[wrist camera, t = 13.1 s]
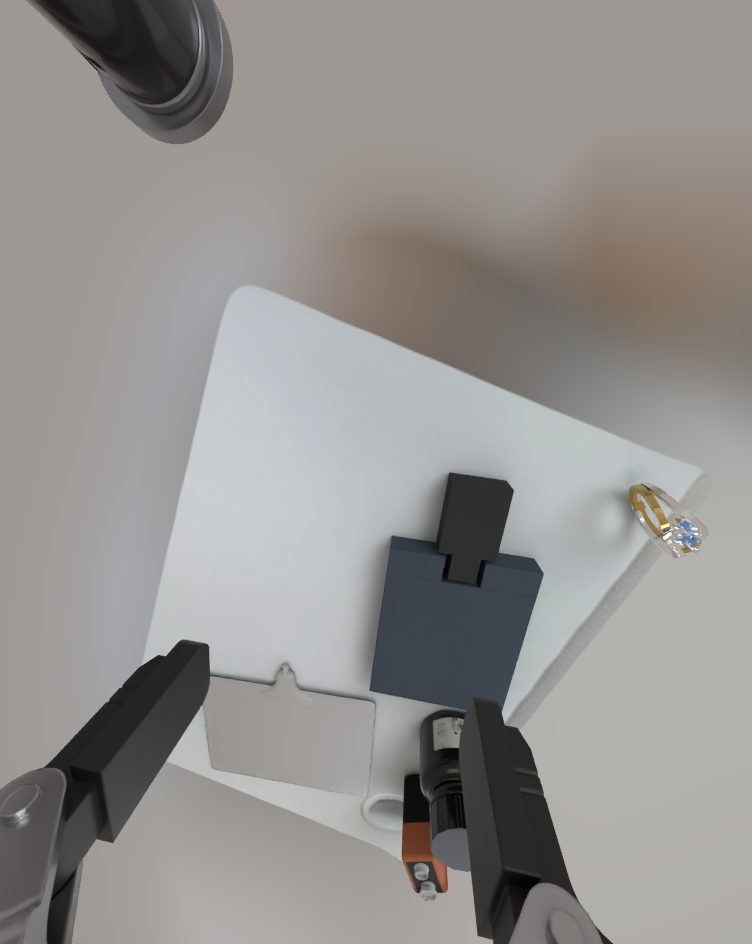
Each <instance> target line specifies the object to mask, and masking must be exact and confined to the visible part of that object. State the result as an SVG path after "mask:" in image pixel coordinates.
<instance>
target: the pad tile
mask: <svg viewBox="0 0 752 944" xmlns="http://www.w3.org/2000/svg"><path fill="white" fill-rule="evenodd" d="M513 492H514V490H513V489H512V487H511V486H510V485H509V484H508V482H507V481H504V480H497V479H490V478H483V477H476V476H470V475H463V474H456V473H449V478H448V483H447V489H446V494H445V499H444V504H443V509H442V515H441V520H440V525H439V530H438V536H437V545H438V552H439V553H445V554H447V559H446V564H445V565H446V572H447V579H449V580H455V581H461V582H467V583H473V584H475V583H476V579H477V575H478V571H479V567H480V563H481V559H482V560H488V561H494V562H496V559H497V555H498V551H499V547H500V543H501V539H502V536H503V532H504V528H505V524H506V520H507V516H508V512H509V508H510V504H511V500H512V496H513Z"/></svg>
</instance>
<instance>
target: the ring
mask: <svg viewBox="0 0 752 944" xmlns="http://www.w3.org/2000/svg"><path fill="white" fill-rule="evenodd" d="M641 496H642V497H643V498H644V499H645V501H646V502H647V503H648V505H649V507H650V508H651V510H652V511H653V513H654V514H655V516H656V517H657V519H658V520H659V523H660V525H661V528H662V530H663V534H662V533H661V532H660V531H659V530H658V529H657V528H656V527H655V526H654V525H653V523H652V522H651V521H650V519H649V518H648V516H647V514H646V512H645V510H644V509H645V505H644V503H643V502H642V500H641ZM654 497H656V498H657V499H658V500H660V501H661V502H662V503H663V504H665V505H666V506H667V507H668V508H670V509H671V510H672V511H673V512H674V513H676V514H677V515H678V516H679V517H680V518H679V517H673V519H674V521H675V522H676V524H677V525H676V524H673V525H669V524H668V522H667V520H666V518H665V516H664V514H663V512H662V510H661V508H660V506H659V504H658V503H657V501H656V499H655V498H654ZM629 498H630V502H629V504H630V507H631V509H633V511H634V514H635V516H636V518H637V520H638V521H639V523H640V525H641V526H642V528H643V529H644V531H645V532H646V533H647V535H648V536H649V537H650V538H651V540H652V541H653V542H654V543H655V544H656V545H657V546H658V547H659V548H660V549H661V550H663V551H664V552H665V553H667V554H668V555H670V556H672V557H675V558H680V557H683V556H685V553H688V552H691V551H693V552H694V553H697V552H698V550H697V548H698V547H699V546H700V544H701V542H702V541H703V539H705V538H706V536H708V529H707V527H706V526H705V525H704V524H703V523H702V522H701V521H700V520H699V519H697V518H696V517H695V516H694V515H693V514H692V513H690V512H689V511H688V510H687V509H686V508H684V507H683V506H682V505H681V504H680V503H678V502H677V501H676V500H675V499H673V498H672V497H671V496H669V495H668V494H667V493H665V492H664V491H663V490H661V489H660V488H658V487H657V486H655V485H653V484H651V483H647V482H644V483H640V484H636V485H633V486H631V487H630V489H629ZM670 531H672V535H674V536H675V537H674V539H673V538H672V536H671V532H670Z"/></svg>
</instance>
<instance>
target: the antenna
mask: <svg viewBox="0 0 752 944" xmlns="http://www.w3.org/2000/svg"><path fill="white" fill-rule="evenodd" d="M203 706H204V714H205V722H206V730H207V738H208V746H209V754H210V762H211V767H212V768H213V769H215V770H219V771H225V772H230V773H236V774H241V775H246V776H252V777H257V778H262V779H268V780H273V781H278V782H284V783H289V784H295V785H300V786H305V787H311V788H316V789H321V790H327V791H332V792H338V793H343V794H348V795H354V796H359V797H367V796H368V788H369V776H370V765H371V753H372V742H373V730H374V719H375V707H376V706H375V704H374V703H373V702H371V701H365V700H358V699H352V698H346V697H340V696H333V695H327V694H321V693H315V692H308V691H302V690H300V689H299V687H298V686H297V684H296V682H295V674H294V672H292V671H290V670H288V664H284V665H283V666H282V670H279V671H278V673H277V675H276V682H275V684H274V685H273V686H271V685H265V684H259V683H252V682H246V681H240V680H234V679H227V678H221V677H215V676H210V685H209V689H208V693H207V695H206V698H205V700H204V702H203ZM227 769H228V770H227Z"/></svg>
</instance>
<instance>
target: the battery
mask: <svg viewBox="0 0 752 944" xmlns="http://www.w3.org/2000/svg"><path fill="white" fill-rule="evenodd" d="M429 807H430V803H429V802H428V801H427V800H426V798H425V797H424V795H423V793H422V790H421V787H420V775H419V776H407V777H405V779H404V804H403V834H402V860H403V862H404V865H405V868H406V870H407V873H408V875H409V878H410V880H411V883H412V885H413V888H414V890H415V892H417V893H420V896H421V897H422V898H423V899H424V900H426V901H435V899H436V897H437V893H445V892H446V891H447V890H448V881H447V866H445V865H443V864H442V863H441V862H440V861H438V860H437V859H436V858H435V857H434V855H433V853H432V850H431V849H430V816H429V814H430V810H429Z"/></svg>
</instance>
